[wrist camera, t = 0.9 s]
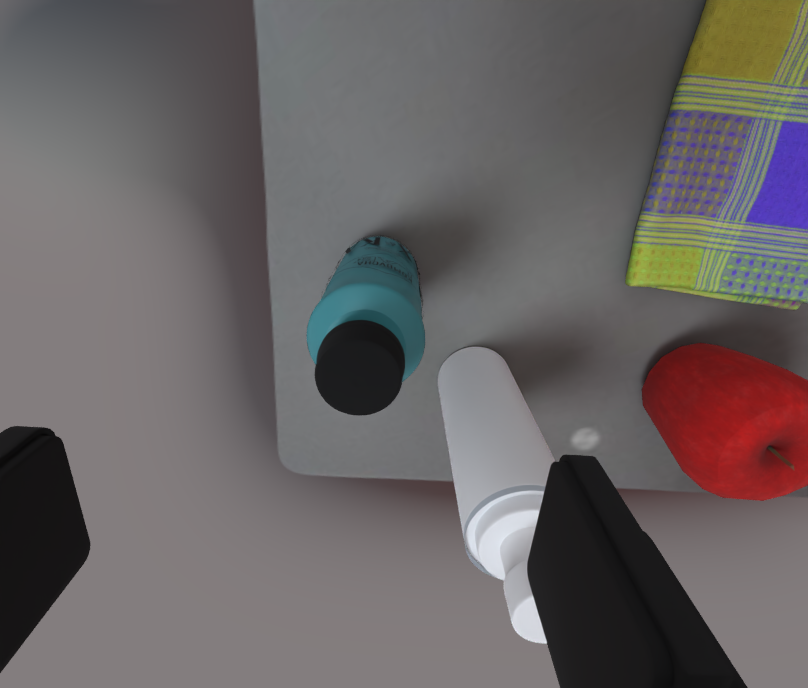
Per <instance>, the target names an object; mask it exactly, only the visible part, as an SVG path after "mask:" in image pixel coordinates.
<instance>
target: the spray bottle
mask: <svg viewBox="0 0 808 688" xmlns="http://www.w3.org/2000/svg"><path fill="white" fill-rule="evenodd" d="M438 389H439V395H440V401H441V407H442V413H443V419H444V425H445V431H446V437H447V443H448V449H449V455H450V461H451V468H452V474H453V480H454V485H455V491H456V497H457V503H458V509H459V514H460V520H461V526H462V532H463V537H464V542H465V545H466V546H465V549H466V552H467V554H468V557H469V558H470V560H471V561H472V562H473V564H474V565H475V566H476V567H477V568H479V569H480V570H481V571H483V572H484V573H486V574H488V575H490V576H493V577H496V578H499V579H501V580H504V584H503V585H504V586H503V587H504V593H505V597H506V601H507V605H508V610H509V614H510V618H511V622H512V625H513V627H514V629H515V630H516V632H517V633H518V634H519V635H520V636H521V637H523V638H525V639H527V640H529V641H532V642H537V643H547V641H546V638H545V635H544V631H543V628H542V624H541V621H540V618H539V614H538V611H537V608H536V604H535V601H534V598H533V594H532V591H531V588H530V584H529V580H528V575H527V562H528V557H529V553H530V549H531V545H532V541H533V536H534V532H535V528H536V524H537V520H538V516H539V511H540V507H541V503H542V499H543V495H544V491H545V487H546V482H547V478H548V474H549V470H550V466H551V464H552V463H553V462H555V460H554V458H553V455H552V453H551V451H550V449H549V447H548V445H547V443H546V441H545V439H544V437H543V435H542V433H541V431H540V429H539V427H538V425H537V423H536V421H535V419H534V417H533V415H532V413H531V411H530V409H529V407H528V405H527V403H526V401H525V399H524V397H523V395H522V393H521V391H520V389H519V387H518V385H517V383H516V381H515V379H514V377H513V375H512V373H511V371H510V369H509V367H508V365H507V363H506V362H505V360H504V359H503V358H502V357H501V356H500V355H499V354H498V353H496V352H495V351H493V350H490V349H488V348H484V347H468V348H464V349H461V350H459V351H457V352H455V353H453V354H452V355H451V356H449V357H448V358H447V359H446V360H445V362H444V363H443V365H442V366H441V368H440V371H439V374H438ZM466 547H467V548H466ZM467 549H468V550H467ZM468 551H469V552H468ZM469 553H470V554H471V555H472V556H471V555H470V554H469ZM473 558H474V559H473ZM475 559H476V560H475ZM477 561H478V562H479V563H480V564H479V563H478V562H477ZM481 564H482V565H483V566H482V565H481Z"/></svg>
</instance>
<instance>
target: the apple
mask: <svg viewBox="0 0 808 688" xmlns="http://www.w3.org/2000/svg"><path fill="white" fill-rule="evenodd" d="M642 400H643V406H644V408H645V410H646V411H647V413H648V415H649V416H650V418H651V420H652V421H653V423H654V425H655V426H656V428H657V429H658V431H659V433H660V434H661V436H662V438H663V439H664V441H665V443H666V444H667V446H668V448H669V449H670V451H671V453H672V454H673V456H674V457H675V459H676V461H677V462H678V464H679V466H680V467H681V469H682V471H683V472H684V473H686V474H687V475H688V476H689V477H690V478H691V479H692V480H693V481H694V482H696V483H697V484H698V485H699V486H700V487H701V488H702V489H704V490H706V491H709V492H711V493H713V494H716V495H718V496H720V497H723V498H735V499H749V500H761V501H763V500H767V499H771V498H775V497H779V496H783V495H786V494H789V493H791V492H793V491H795V490H798V489H800V488H802V487H805V486H807V485H808V380H806V379H804V378H802V377H800V376H798V375H796V374H794V373H793V372H791V371H789V370H787V369H784V368H782V367H779V366H776V365H774V364H771V363H769V362H766V361H763V360H761V359H758V358H756V357H753V356H750V355H747V354H744V353H741V352H738V351H735V350H732V349H728V348H725V347H722V346H719V345H712V344H705V343H697V344H692V345H686V346H681V347H679V348H677V349H675V350H673V351H672V352H670V353H668V354H666V355H665V356H663V357H661V359H660V360H659V361H658V362H657V363H656V365H655V366H654V367H653V368H652V370H651V371H650V372H649V374H648V376H647V378H646V381H645V383H644V385H643V388H642Z"/></svg>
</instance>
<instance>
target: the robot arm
mask: <svg viewBox="0 0 808 688" xmlns="http://www.w3.org/2000/svg"><path fill="white" fill-rule="evenodd" d="M89 550H90V540H89V536H88V532H87V529H86V525H85V522H84V518H83V514H82V510H81V507H80V503H79V499H78V496H77V492H76V488H75V485H74V481H73V477H72V474H71V470H70V466H69V463H68V459H67V455H66V452H65V448H64V444H63V442H62V440H61V439H60V438H59V437H57V436H55V434H54V432H53V431H52V430H51V429H48V428H42V427H22V426H14V427H10V428H8V429H6V430H4V431H3V432H1V433H0V673H1V671H2V670H3V669H4V667H5V666H6V665H7V664H8V662H9V661H10V660H11V658H12V657H13V656H14V654H15V653H16V652H17V650H18V649H19V648H20V647H21V645H22V644H23V643H24V641H25V640H26V638H27V637H28V636H29V635H30V633H31V632H32V631H33V629H34V628H35V627H36V626H37V624H38V623H39V622H40V620H41V619H42V618H43V616H44V615H45V614H46V612H47V611H48V610H49V608H50V607H51V606H52V604H53V603H54V602H55V601H56V599H57V598H58V597H59V595H60V594H61V593H62V591H63V590H64V589H65V587H66V586H67V585H68V584H69V582H70V581H71V580H72V578H73V577H74V576H75V574H76V573H77V572H78V571H79V569H80V568H81V567H82V565H83V564H84V562H85V561H86V559H87V557H88V554H89ZM527 575H528V580H529V584H530V588H531V591H532V594H533V598H534V601H535V604H536V608H537V611H538V614H539V618H540V621H541V624H542V628H543V631H544V635H545V638H546V641H547V645H548V648H549V651H550V654H551V658H552V661H553V665H554V668H555V671H556V675H557V678H558V681H559V685H560V688H747V686H746V685H745V683H744V682H743V680H742V679H741V677H740V675H739V674H738V672H737V671H736V669H735V668H734V666H733V665H732V663H731V662H730V660H729V658H728V657H727V655H726V654H725V652H724V651H723V649H722V647H721V646H720V644H719V643H718V641H717V640H716V638H715V637H714V635H713V634H712V632H711V631H710V629H709V627H708V626H707V624H706V623H705V621H704V620H703V618H702V617H701V615H700V613H699V612H698V610H697V609H696V607H695V606H694V604H693V603H692V601H691V600H690V598H689V596H688V595H687V593H686V592H685V590H684V589H683V587H682V586H681V584H680V583H679V581H678V579H677V578H676V576H675V575H674V573H673V572H672V570H671V569H670V567H669V565H668V564H667V562H666V561H665V559H664V558H663V556H662V555H661V553H660V551H659V550H658V548H657V547H656V545H655V544H654V542H653V541H652V539H651V538H650V537H649V536H648V535H647V534H646V533H645V532H644V531H642V529H641V528H640V526H639V524H638V523H637V521H636V520H635V518H634V517H633V515H632V513H631V512H630V510H629V509H628V507H627V506H626V504H625V503H624V501H623V499H622V498H621V496H620V495H619V493H618V491H617V490H616V488H615V487H614V485H613V484H612V482H611V480H610V479H609V477H608V476H607V474H606V473H605V471H604V469H603V468H602V466H601V465H600V463H599V462H598V460H597V459H596V458H595V457H593V456H581V455H563V456H562V457H561V458H560V461H559V462H553V463H552V464H551V466H550V470H549V474H548V478H547V482H546V487H545V491H544V495H543V499H542V503H541V507H540V511H539V516H538V520H537V524H536V528H535V532H534V536H533V541H532V545H531V549H530V553H529V557H528V562H527Z"/></svg>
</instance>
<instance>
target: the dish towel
mask: <svg viewBox="0 0 808 688" xmlns="http://www.w3.org/2000/svg"><path fill="white" fill-rule="evenodd" d="M625 284H626V285H628V286H638V287H645V286H646V287H652V288H657V289H664V290H670V291H677V292H682V293H688V294H693V295H700V296H705V297H711V298H717V299H723V300H729V301H737V302H743V303H751V304H758V305H764V306H770V307H777V308H783V309H789V310H796V309H797V308H799V306H800V305H801V303H802V302H803V303H808V0H706V4H705V7H704V10H703V12H702V15H701V19H700V23H699V26H698V28H697V30H696V32H695V37H694V40H693V43H692V45H691V47H690V49H689V53H688V56H687V59H686V61H685V64H684V68H683V72H682V75H681V78H680V81H679V83H678V85H677V88H676V91H675V94H674V97H673V100H672V104H671V107H670V111H669V114H668V117H667V120H666V122H665V126H664V130H663V133H662V136H661V141H660V146H659V148H658V151H657V155H656V160H655V162H654V166H653V171H652V175H651V178H650V182H649V186H648V189H647V192H646V196H645V200H644V202H643V205H642V210H641V213H640V217H639V220H638V223H637V226H636V230H635V234H634V239H633V245H632V249H631V256H630V260H629V264H628V271H627V273H626V281H625Z"/></svg>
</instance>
